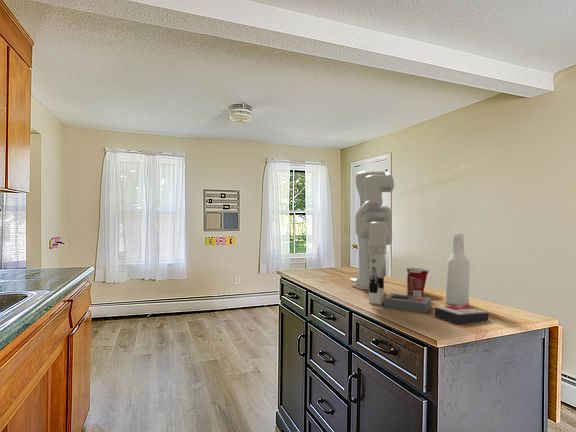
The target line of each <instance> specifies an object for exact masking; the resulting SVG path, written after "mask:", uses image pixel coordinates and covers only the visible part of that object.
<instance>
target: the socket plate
mask: <svg viewBox="0 0 576 432" xmlns="http://www.w3.org/2000/svg"><path fill="white" fill-rule="evenodd" d="M431 304H432V297H427V296H426V297H425V296H424V297H423V296H422V297H418V296H410V295H407V294H399V293H393V292H392V293H390V294H388V295H387V296H385V297H384V302H383V305H384V306H383V307H384V308H386V309H387V308H388V309H395V310H401V311H402V310H403V311H408V312H416V313H422V314H426V313H427V312H428V311H429V309H430V308H431V307H432V305H431Z"/></svg>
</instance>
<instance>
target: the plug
mask: <svg viewBox="0 0 576 432" xmlns="http://www.w3.org/2000/svg"><path fill="white" fill-rule="evenodd" d="M384 294H385V287H384V288H379V283H377V293H370V292H369V291H368V303H369V304H374V305H380V304H381V305H382V304H384V298H385V295H384Z"/></svg>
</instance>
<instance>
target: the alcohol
mask: <svg viewBox="0 0 576 432" xmlns="http://www.w3.org/2000/svg"><path fill="white" fill-rule="evenodd" d="M452 238H453V240H452V241H453V242H452V252H451V255H450V256H449V257H448V259H447V261H446V276H445V277H446V279H445V281H446V283H445V285H446V286H445V292H446V293H445V302H446V304H448V306H460V305H464V306H469V304H470V261H469V260H468V257H466V255H465V248H464V247H465V245H464V234H463V233H453V237H452Z"/></svg>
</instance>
